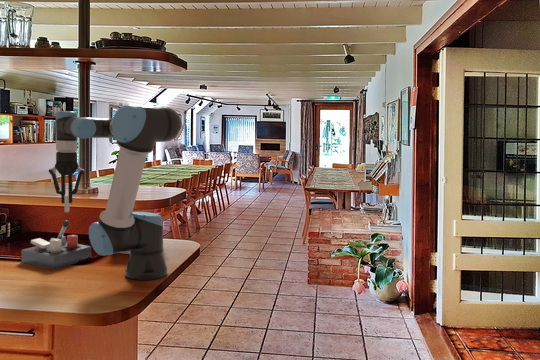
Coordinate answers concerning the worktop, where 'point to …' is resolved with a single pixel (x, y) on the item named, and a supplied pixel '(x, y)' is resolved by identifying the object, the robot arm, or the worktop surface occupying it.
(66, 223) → the lever
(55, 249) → the button ivory
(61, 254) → the console
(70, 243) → the button red
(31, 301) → the worktop surface
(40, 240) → the rocker
